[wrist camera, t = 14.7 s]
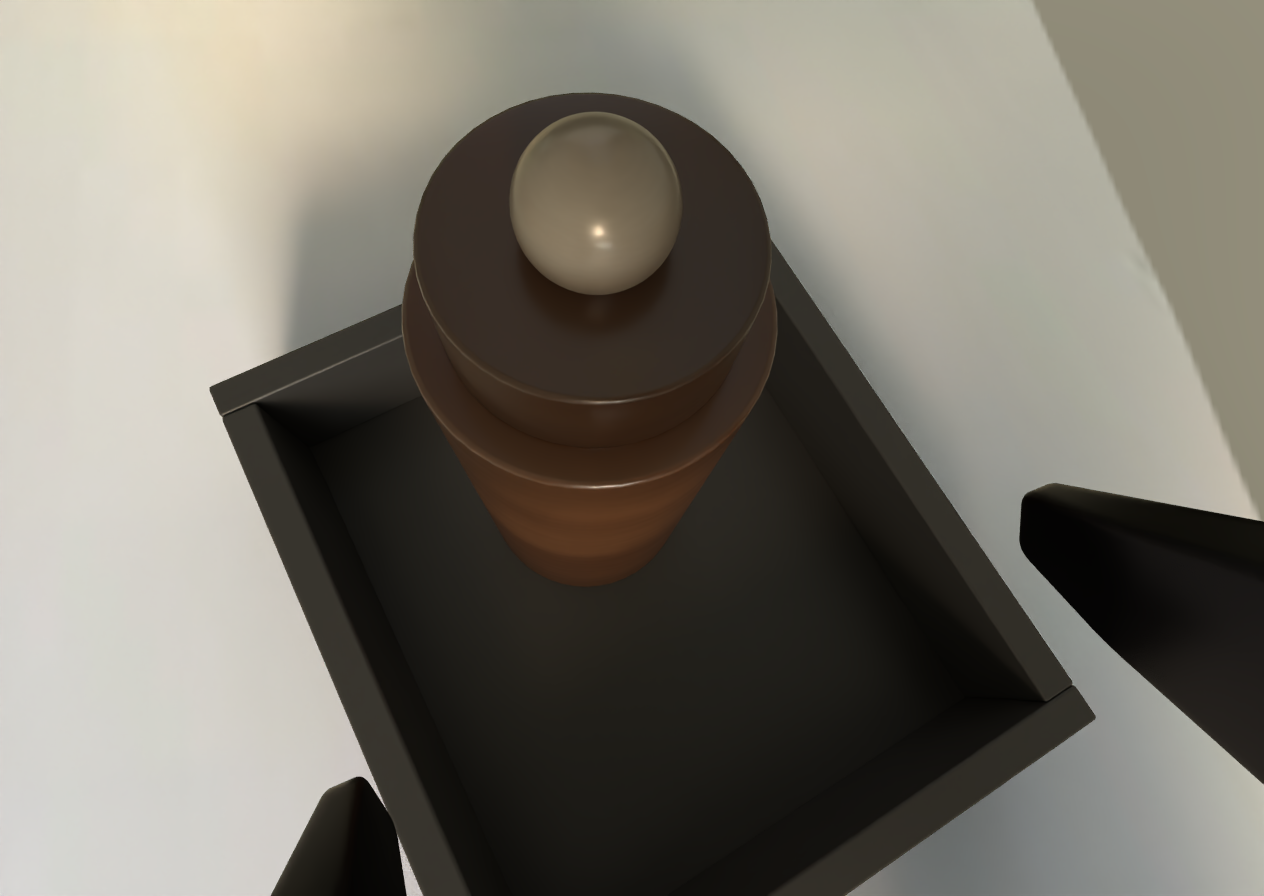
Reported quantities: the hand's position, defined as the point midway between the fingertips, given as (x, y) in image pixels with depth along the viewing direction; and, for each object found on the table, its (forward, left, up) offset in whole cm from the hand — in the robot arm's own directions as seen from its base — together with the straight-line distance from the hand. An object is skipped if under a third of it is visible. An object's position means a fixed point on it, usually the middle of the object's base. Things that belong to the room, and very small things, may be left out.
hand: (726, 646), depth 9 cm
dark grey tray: (+2, -1, -10) cm, 11 cm away
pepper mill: (+5, -1, -10) cm, 11 cm away
